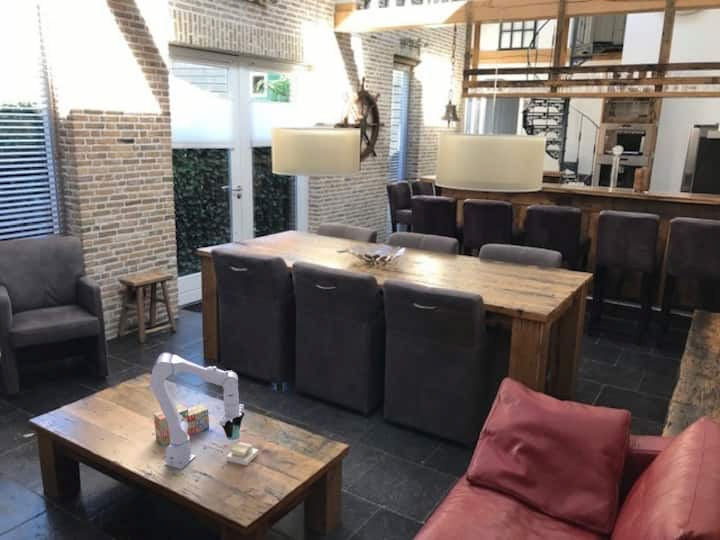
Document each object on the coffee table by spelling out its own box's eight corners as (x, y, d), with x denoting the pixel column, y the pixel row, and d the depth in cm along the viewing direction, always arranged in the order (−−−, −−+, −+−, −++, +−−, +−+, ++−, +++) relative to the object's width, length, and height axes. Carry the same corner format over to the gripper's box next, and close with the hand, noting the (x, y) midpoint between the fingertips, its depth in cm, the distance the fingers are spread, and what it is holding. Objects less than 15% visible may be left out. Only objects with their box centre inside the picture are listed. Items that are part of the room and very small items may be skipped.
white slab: (246, 466, 233) (246, 461, 232) (226, 461, 236) (226, 456, 235) (258, 454, 241) (258, 449, 240) (239, 450, 244) (239, 444, 243)
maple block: (244, 458, 234) (243, 452, 233) (231, 454, 236) (231, 449, 235) (252, 450, 239) (252, 445, 238) (240, 447, 241) (239, 441, 241)
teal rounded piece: (235, 440, 234) (234, 431, 233) (224, 438, 236) (223, 429, 235) (242, 434, 239) (241, 425, 238) (231, 432, 241) (230, 423, 240)
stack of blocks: (202, 422, 264) (201, 397, 261) (209, 428, 259) (207, 402, 256) (155, 439, 250) (153, 412, 247) (161, 445, 246) (159, 418, 242)
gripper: (229, 412, 226) (231, 444, 229) (250, 396, 239) (251, 426, 242) (214, 409, 228) (216, 440, 232) (234, 393, 241) (236, 423, 245)
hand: (233, 433), depth 237 cm, fingers closed on teal rounded piece, 5 cm apart
